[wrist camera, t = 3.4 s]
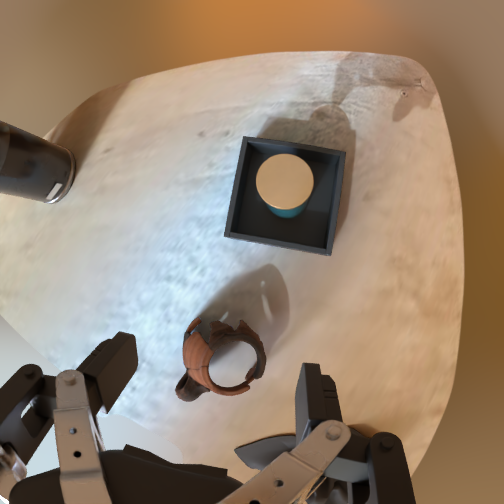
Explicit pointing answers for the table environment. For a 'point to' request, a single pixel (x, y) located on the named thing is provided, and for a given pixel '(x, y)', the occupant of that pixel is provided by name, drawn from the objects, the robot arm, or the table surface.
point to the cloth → (265, 451)
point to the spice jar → (285, 185)
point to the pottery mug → (201, 353)
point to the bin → (277, 229)
